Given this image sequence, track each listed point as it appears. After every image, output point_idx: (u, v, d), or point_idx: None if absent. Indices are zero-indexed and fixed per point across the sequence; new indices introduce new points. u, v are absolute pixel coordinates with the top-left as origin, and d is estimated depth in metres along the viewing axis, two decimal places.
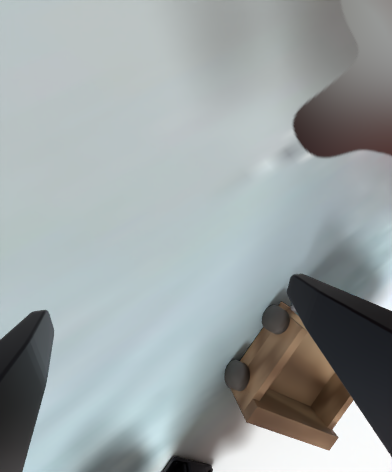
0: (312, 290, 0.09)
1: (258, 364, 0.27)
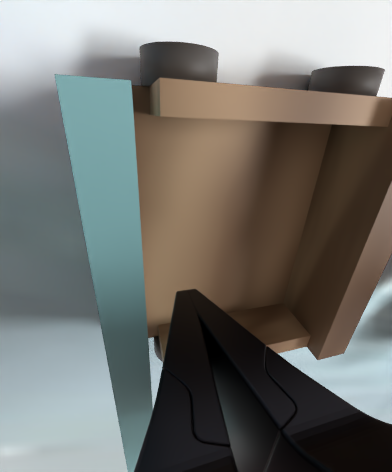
0: None
1: None
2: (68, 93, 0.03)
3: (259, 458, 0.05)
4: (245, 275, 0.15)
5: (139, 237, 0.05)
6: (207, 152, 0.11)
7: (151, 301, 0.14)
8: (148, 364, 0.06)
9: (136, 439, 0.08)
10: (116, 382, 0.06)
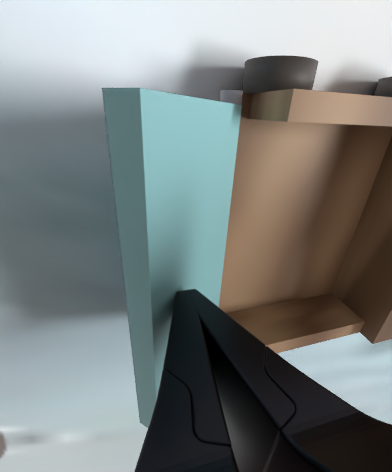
0: None
1: None
2: (107, 99, 0.05)
3: (258, 458, 0.05)
4: (303, 266, 0.17)
5: (145, 211, 0.06)
6: (289, 152, 0.12)
7: None
8: (151, 323, 0.08)
9: (143, 385, 0.09)
10: (131, 324, 0.08)
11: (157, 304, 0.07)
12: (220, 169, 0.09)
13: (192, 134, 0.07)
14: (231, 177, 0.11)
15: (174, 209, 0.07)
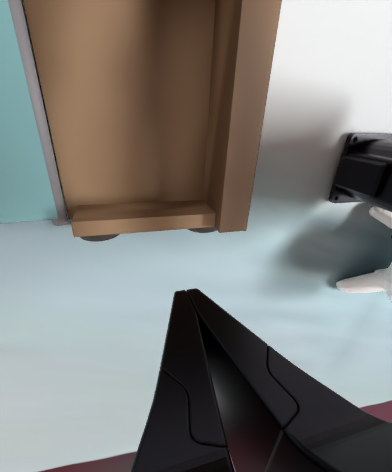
0: (194, 310, 0.08)
1: None
2: None
3: (261, 457, 0.05)
4: (158, 160, 0.17)
5: None
6: (97, 16, 0.13)
7: (67, 176, 0.16)
8: None
9: None
10: None
11: None
12: None
13: None
14: (5, 20, 0.11)
15: None
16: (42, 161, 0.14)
